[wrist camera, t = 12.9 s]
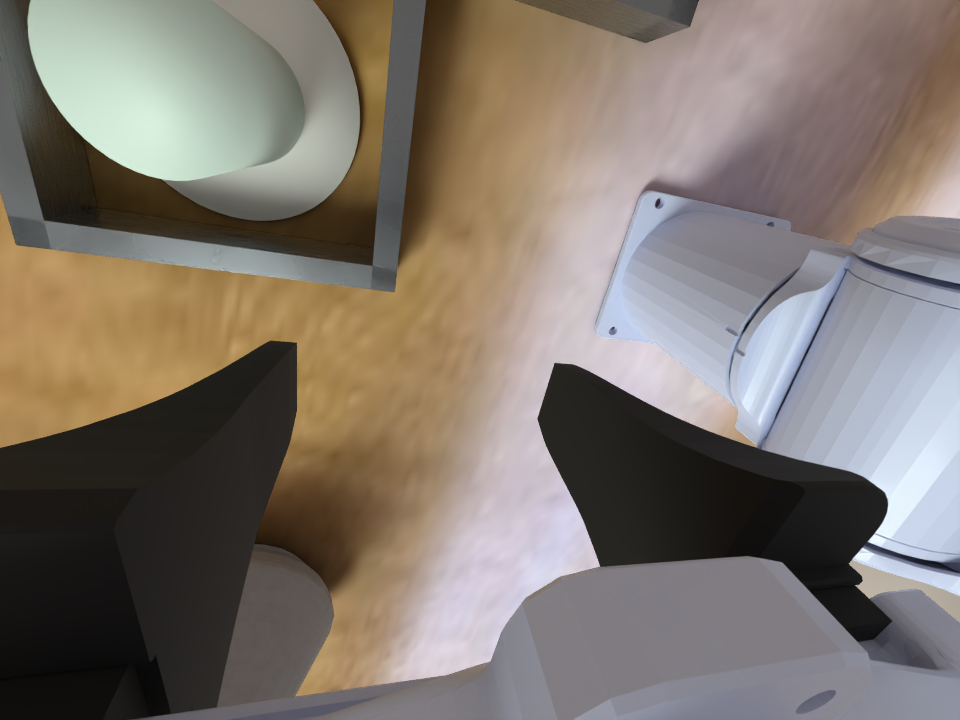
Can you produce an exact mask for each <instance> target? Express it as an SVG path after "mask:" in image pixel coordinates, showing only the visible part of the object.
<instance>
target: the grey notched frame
mask: <svg viewBox="0 0 960 720" xmlns="http://www.w3.org/2000/svg"><path fill="white" fill-rule="evenodd" d="M30 1H31V0H0V192H1V196H2V199H3V202H4V206H5V209H6V213H7V216H8V219H9V223H10V226H11V229H12V233H13V236H14V239H15V243H16V245H19V246H27V247H36V248H44V249H52V250H60V251H68V252H76V253H84V254H92V255H100V256H108V257H116V258H124V259H132V260H140V261H148V262H156V263H164V264H172V265H180V266H188V267H196V268H204V269H212V270H220V271H228V272H236V273H244V274H252V275H260V276H268V277H276V278H284V279H292V280H301V281H309V282H317V283H325V284H333V285H341V286H349V287H357V288H365V289H373V290H381V291H389V292H395V285H396V275H397V266H398V257H399V248H400V238H401V229H402V220H403V210H404V201H405V192H406V182H407V173H408V164H409V154H410V145H411V136H412V126H413V117H414V108H415V99H416V89H417V80H418V71H419V61H420V52H421V43H422V33H423V24H424V15H425V5H426V0H394V6H393V18H392V31H391V43H390V55H389V68H388V80H387V93H386V105H385V118H384V130H383V143H382V155H381V167H380V180H379V192H378V205H377V217H376V230H375V242H374V249H372V248H365V247H358V246H351V245H345V244H338V243H331V242H325V241H318V240H311V239H305V238H298V237H291V236H284V235H278V234H271V233H264V232H258V231H251V230H244V229H237V228H231V227H224V226H217V225H211V224H204V223H197V222H191V221H184V220H177V219H170V218H164V217H157V216H150V215H144V214H137V213H130V212H123V211H117V210H110V209H103V208H97V203H96V198H95V193H94V188H93V183H92V179H91V174H90V169H89V164H88V159H87V154H86V149H85V144H84V139H83V137H82V136H81V135H80V134H79V133H78V132H77V131H76V130H75V129H74V128H73V127H72V126H71V124H70V123H69V122H68V121H67V120H66V118H65V117H64V116H63V115H62V114H61V112H60V111H59V109H58V108H57V107H56V105H55V104H54V102H53V101H52V99H51V98H50V96H49V94H48V92H47V90H46V89H45V87H44V85H43V83H42V81H41V78H40V76H39V74H38V72H37V69H36V66H35V63H34V60H33V57H32V53H31V49H30V43H29V37H28V12H29V5H30ZM516 1H519V2H522V3H525V4H528V5H531V6H535V7H538V8H541V9H544V10H547V11H550V12H553V13H556V14H559V15H562V16H565V17H568V18H571V19H574V20H577V21H580V22H583V23H587V24H590V25H593V26H596V27H599V28H602V29H605V30H608V31H611V32H614V33H617V34H620V35H623V36H626V37H629V38H632V39H635V40H638V41H642V42H645V43H647V42H650V41H653V40H655V39H658V38H661V37H664V36H666V35H669V34H672V33H674V32H677V31H680V30H683V29H685V28H688V27H690V25H691V22H692V19H693V16H694V13H695V10H696V7H697V4H698V1H699V0H516Z"/></svg>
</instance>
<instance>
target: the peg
mask: <svg viewBox="0 0 960 720" xmlns="http://www.w3.org/2000/svg"><path fill="white" fill-rule="evenodd" d="M28 37H29V43H30V49H31V53H32V57H33V60H34V63H35V66H36V69H37V72H38V74H39V76H40V78H41V81H42V83H43V85H44V87H45V89H46V90H47V92H48V94H49V96H50V98H51V99H52V101H53V102H54V104H55V105H56V107H57V108H58V109H59V111H60V112H61V114H62V115H63V116H64V117H65V118H66V120H67V121H68V122H69V123H70V124H71V126H72V127H73V128H74V129H75V130H76V131H77V132H78V133H79V134H80V135H81V136H82V137H83V138H84V139H85V140H87V141H88V142H89V143H90V144H91V145H93V146H94V147H95V148H96V149H97V150H99V151H100V152H102V153H103V154H105V155H106V156H107V157H109V158H110V159H112V160H114V161H116V162H117V163H119V164H121V165H123V166H125V167H127V168H129V169H131V170H133V171H136V172H138V173H141V174H144V175H147V176H150V177H155V178H159V179H164V180H173V181H189V180H195V179H201V178H206V177H210V176H214V175H219V174H223V173H227V172H232V171H236V170H240V169H245V168H249V167H253V166H258V165H262V164H266V163H270V162H273V161H276V160H278V159H280V158H282V157H283V156H285V155H286V154H288V153H289V152H290V151H291V150H292V149H293V147H294V146H295V145H296V143H297V141H298V139H299V137H300V135H301V132H302V129H303V124H304V115H305V111H304V101H303V96H302V92H301V89H300V86H299V83H298V81H297V79H296V77H295V75H294V73H293V71H292V69H291V68H290V66H289V65H288V63H287V62H286V60H285V59H284V58H283V57H282V56H281V54H280V53H279V52H278V51H277V50H276V49H275V48H274V47H273V46H272V45H270V44H269V43H268V42H266V41H265V40H264V39H263V38H261V37H260V36H259V35H257V34H256V33H255V32H253V31H252V30H251V29H249V28H248V27H247V26H245V25H244V24H243V23H241V22H240V21H239V20H237V19H236V18H235V17H233V16H232V15H231V14H229V13H228V12H227V11H225V10H224V9H223V8H221V7H220V6H219V5H217V4H216V3H215V2H213V1H212V0H31V1H30V5H29V12H28Z"/></svg>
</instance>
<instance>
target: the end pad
mask: <svg viewBox="0 0 960 720" xmlns="http://www.w3.org/2000/svg"><path fill="white" fill-rule="evenodd" d="M212 1H213V2H215V3H216V4H217V5H219V6H220V7H221V8H223V9H224V10H225V11H227V12H228V13H229V14H231V15H232V16H233V17H235V18H236V19H237V20H239V21H240V22H241V23H243V24H244V25H245V26H247V27H248V28H249V29H251V30H252V31H253V32H255V33H256V34H257V35H259V36H260V37H261V38H263V39H264V40H265V41H266V42H268V43H269V44H270V45H272V46H273V47H274V48H275V49H276V50H277V51H278V52H279V53H280V54H281V56H282V57H283V58H284V59H285V60H286V62H287V63H288V65H289V66H290V68H291V69H292V71H293V73H294V75H295V77H296V79H297V81H298V83H299V86H300V89H301V92H302V96H303V101H304V111H305V115H304V124H303V129H302V132H301V135H300V137H299V139H298V141H297V143H296V145H295V146H294V147H293V149H292V150H291V151H290V152H289V153H288V154H286V155H285V156H283V157H282V158H280V159H278V160H276V161H273V162H270V163H266V164H262V165H258V166H253V167H249V168H245V169H240V170H236V171H232V172H227V173H223V174H219V175H214V176H210V177H206V178H201V179H195V180H189V181H173V180H164V179H162V180H163V181H165V182H166V183H167V184H168V185H169V186H171V187H172V188H174V189H175V190H176V191H178V192H179V193H180V194H182V195H183V196H185V197H187V198H189V199H190V200H192V201H194V202H195V203H197V204H199V205H201V206H204V207H206V208H208V209H210V210H212V211H215V212H218V213H221V214H224V215H227V216H230V217H235V218H240V219H245V220H255V221H271V220H279V219H285V218H290V217H293V216H296V215H299V214H302V213H304V212H306V211H308V210H310V209H312V208H314V207H315V206H317V205H318V204H320V203H321V202H323V201H324V200H325V199H326V198H327V197H328V196H329V195H330V194H331V193H333V192H334V190H335V189H336V188H337V187H338V185H339V184H340V183H341V182H342V180H343V179H344V177H345V175H346V173H347V172H348V170H349V168H350V166H351V163H352V161H353V158H354V156H355V152H356V148H357V144H358V138H359V130H360V105H359V97H358V90H357V86H356V82H355V77H354V74H353V71H352V68H351V65H350V62H349V59H348V56H347V54H346V52H345V50H344V48H343V46H342V44H341V41H340V39H339V37H338V36H337V34H336V32H335V31H334V29H333V27H332V26H331V24H330V22H329V21H328V19H327V18H326V17H325V15H324V14H323V13H322V11H321V10H320V8H319V7H318V6H317V4H316V3H315V2H314V1H313V0H212Z"/></svg>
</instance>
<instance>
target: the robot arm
mask: <svg viewBox="0 0 960 720" xmlns="http://www.w3.org/2000/svg"><path fill="white" fill-rule="evenodd" d="M659 198H660V204H659V206H658V207H655V202H656V200H657V199H659ZM767 224H768V226H767ZM790 230H791V222H790V221H788V220H784V219H779V218H775V217H770V216H766V215H761V214H757V213H752V212H748V211H743V210H739V209H734V208H729V207H725V206H720V205H716V204H711V203H707V202H702V201H698V200H693V199H689V198H684V197H680V196H675V195H671V194H666V193H662V192H657V191H653V190H647V191H645V192H643V193H642V194H641V196H640V198H639V200H638V203H637V206H636V209H635V212H634V214H633V217H632V220H631V223H630V226H629V229H628V232H627V235H626V238H625V241H624V244H623V246H622V249H621V252H620V255H619V258H618V261H617V264H616V267H615V270H614V273H613V276H612V278H611V281H610V284H609V287H608V290H607V293H606V296H605V299H604V302H603V305H602V308H601V310H600V313H599V316H598V319H597V322H596V325H595V333H596V334H597V335H598V336H599V337H602V338H610V339H619V340H628V341H637V342H646V343H654V344H656V345H657V346H658V347H659V348H661V349H662V350H663V351H664V352H666V353H667V354H668V355H670V356H671V357H672V358H673V359H675V360H676V361H677V362H679V363H680V364H681V365H682V366H684V367H685V368H686V369H687V370H689V371H690V372H691V373H693V374H694V375H695V376H696V377H698V378H699V379H700V380H701V381H703V382H704V383H705V384H707V385H708V386H709V387H710V388H712V389H713V390H714V391H715V392H717V393H718V394H719V395H721V396H722V397H723V398H724V399H726V400H727V401H728V402H730V403H731V404H732V405H733V406H735V407H736V408H737V409H738V419H737V422H736V425H735V428H736V429H738V430H739V431H740V432H741V433H742V434H744V435H745V436H746V437H747V438H748V439H749V440H751V441H752V442H753V443H754V444H755V445H757V446H758V447H757V448H755V447H752V446H749V445H746V444H743V443H740V442H737V441H734V440H731V439H729V438H726V437H723V436H720V435H717V434H714V433H712V432H709V431H707V430H704V429H702V428H699V427H697V426H695V425H692V424H690V423H688V422H685V421H683V420H681V419H678V418H676V417H674V416H672V415H670V414H668V413H665V412H663V411H661V410H660V409H658V408H656V407H654V406H652V405H650V404H648V403H646V402H644V401H642V400H640V399H638V398H636V397H635V396H633V395H631V394H629V393H627V392H626V391H624V390H622V389H620V388H618V387H617V386H615V385H613V384H611V383H609V382H608V381H606V380H604V379H602V378H600V377H599V376H597V375H595V374H593V373H591V372H589V371H587V370H585V369H583V368H581V367H578V366H576V365H573V364H560V363H555V364H554V367H553V370H552V374H551V377H550V380H549V383H548V386H547V390H546V393H545V396H544V399H543V403H542V406H541V409H540V412H539V416H538V422H539V425H540V429H541V432H542V435H543V438H544V441H545V444H546V447H547V449H548V451H549V453H550V455H551V457H552V459H553V461H554V463H555V465H556V467H557V469H558V471H559V473H560V475H561V477H562V479H563V480H564V482H565V484H566V486H567V488H568V490H569V492H570V494H571V496H572V498H573V500H574V502H575V504H576V506H577V508H578V510H579V512H580V514H581V517H582V519H583V521H584V523H585V526H586V529H587V531H588V534H589V537H590V539H591V542H592V544H593V547H594V550H595V552H596V555H597V558H598V561H599V564H600V567H597V568H593V569H589V570H585V571H581V572H577V573H573V574H569V575H565V576H561V577H559V578H557V579H556V580H554V581H552V582H551V583H549V584H548V585H546V586H544V587H543V588H541V589H539V590H538V591H536V592H534V593H533V594H531V595H530V596H528V597H526V598H525V600H524V601H523V602H522V604H521V605H520V606H519V608H518V609H517V610H516V612H515V613H514V614H513V616H512V617H511V618H510V620H509V621H508V622H507V624H506V625H505V627H504V629H503V630H502V632H501V635H500V637H499V640H498V643H497V646H496V648H495V651H494V654H493V657H492V660H491V662H487V663H484V664H480V665H477V666H474V667H471V668H468V669H465V670H461V671H458V672H455V673H452V674H449V675H446V676H438V677H431V678H424V679H417V680H410V681H403V682H396V683H389V684H381V685H374V686H367V687H360V688H353V689H346V690H339V691H332V692H325V693H317V694H310V695H303V696H296V697H289V698H282V699H275V700H268V701H260V702H253V703H246V704H239V705H232V706H225V707H218V708H217V705H218V700H219V695H220V690H221V685H222V681H223V676H224V671H225V667H226V662H227V658H228V653H229V649H230V644H231V640H232V635H233V631H234V626H235V622H236V618H237V613H238V609H239V605H240V601H241V596H242V592H243V588H244V584H245V580H246V575H247V571H248V567H249V563H250V559H251V555H252V551H253V547H254V543H255V540H256V536H257V532H258V529H259V526H260V523H261V519H262V516H263V514H264V511H265V508H266V506H267V503H268V500H269V498H270V495H271V492H272V490H273V487H274V484H275V482H276V479H277V476H278V473H279V471H280V468H281V465H282V463H283V460H284V457H285V455H286V452H287V449H288V446H289V443H290V440H291V435H292V431H293V426H294V422H295V417H296V412H297V343H293V342H280V341H269V342H267V343H265V344H263V345H262V346H260V347H258V348H257V349H255V350H253V351H252V352H250V353H249V354H247V355H245V356H244V357H242V358H240V359H239V360H237V361H235V362H233V363H232V364H230V365H228V366H227V367H225V368H223V369H222V370H220V371H218V372H216V373H214V374H212V375H210V376H208V377H206V378H204V379H202V380H200V381H199V382H197V383H195V384H193V385H191V386H189V387H187V388H185V389H183V390H181V391H178V392H176V393H174V394H172V395H169V396H167V397H165V398H162V399H160V400H157V401H155V402H152V403H150V404H147V405H145V406H142V407H140V408H137V409H134V410H132V411H129V412H126V413H123V414H119V415H116V416H113V417H110V418H107V419H104V420H101V421H98V422H95V423H92V424H89V425H86V426H83V427H80V428H76V429H73V430H69V431H65V432H62V433H58V434H54V435H51V436H47V437H43V438H39V439H35V440H31V441H27V442H23V443H19V444H15V445H11V446H7V447H2V448H0V720H960V623H959V622H958V621H957V620H956V619H954V618H953V617H952V616H951V615H950V614H948V613H947V612H946V611H945V610H943V609H942V608H941V607H940V606H939V605H938V604H936V603H935V602H934V601H933V600H932V599H931V598H929V597H928V596H927V595H926V594H925V593H923V592H922V591H921V590H918V589H909V590H899V591H891V592H884V593H880V594H878V595H876V596H874V597H872V598H870V599H869V598H868V597H867V596H866V595H865V594H863V593H862V592H861V591H860V590H859V589H858V588H857V587H856V586H855V585H859V584H860V583H861V582H862V581H863V580H862V576H861V575H860V574H859V573H858V572H857V571H856V570H855V569H853V568H852V567H851V566H850V565H849V563H850V561H851V560H854V561H856V562H859V563H861V564H864V565H867V566H870V567H873V568H876V569H879V570H882V571H884V572H888V573H891V574H895V575H898V576H902V577H905V578H909V579H913V580H916V581H920V582H924V583H927V584H929V585H932V586H935V587H938V588H941V589H944V590H946V591H949V592H951V593H953V594H956V595H958V596H960V219H956V218H944V217H928V216H895V217H892V218H890V219H888V220H886V221H884V222H882V223H879V224H877V225H876V226H875V227H871V228H866V229H863V230H861V231H860V232H859V233H858V234H857V236H856V238H855V240H854V242H853V244H852V245H848V244H843V243H839V242H835V241H831V240H826V239H822V238H818V237H814V236H809V235H805V234H801V233H797V232H792V231H790ZM612 327H614V329H613V331H611V332H609V330H610V328H612Z"/></svg>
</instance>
